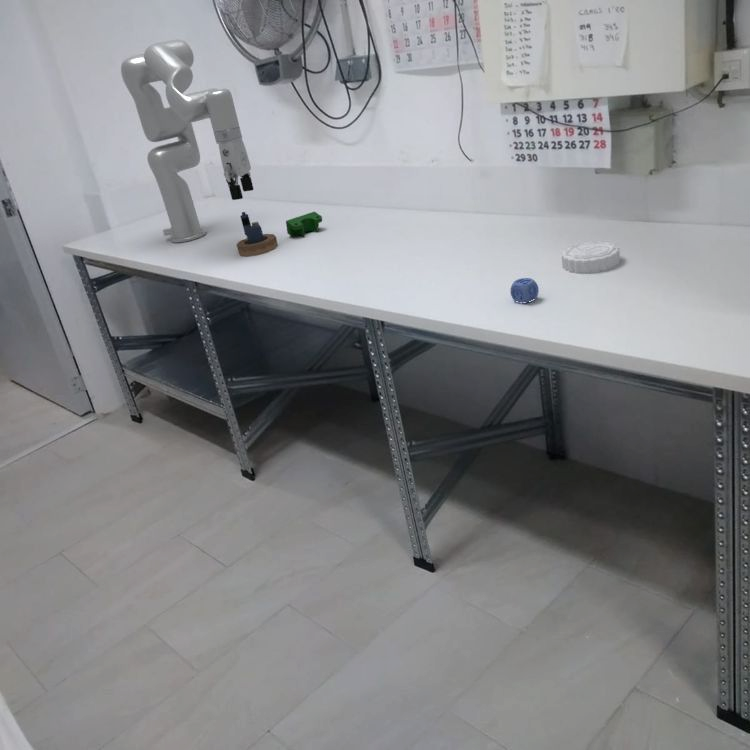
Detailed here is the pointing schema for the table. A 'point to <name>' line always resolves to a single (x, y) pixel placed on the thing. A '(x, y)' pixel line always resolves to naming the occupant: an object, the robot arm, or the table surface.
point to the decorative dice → (524, 290)
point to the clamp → (303, 224)
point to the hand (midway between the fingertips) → (243, 194)
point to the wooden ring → (257, 246)
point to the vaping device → (251, 230)
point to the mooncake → (590, 257)
